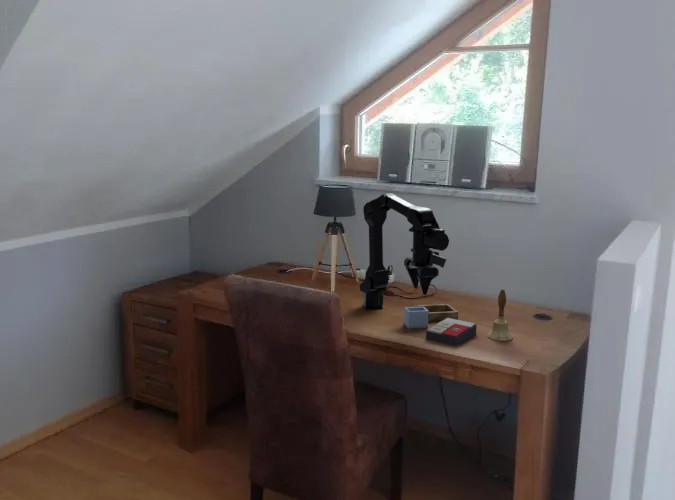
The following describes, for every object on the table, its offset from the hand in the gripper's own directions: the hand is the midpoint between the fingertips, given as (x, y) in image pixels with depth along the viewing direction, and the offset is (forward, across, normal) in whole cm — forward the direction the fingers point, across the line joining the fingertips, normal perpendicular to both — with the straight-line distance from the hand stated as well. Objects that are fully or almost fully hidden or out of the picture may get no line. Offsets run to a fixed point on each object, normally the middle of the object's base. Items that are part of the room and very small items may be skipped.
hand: (420, 291), depth 225 cm
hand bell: (+13, -15, -23) cm, 30 cm away
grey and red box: (+13, -12, -7) cm, 19 cm away
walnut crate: (+12, +9, -10) cm, 18 cm away
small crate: (+12, 0, +1) cm, 12 cm away
